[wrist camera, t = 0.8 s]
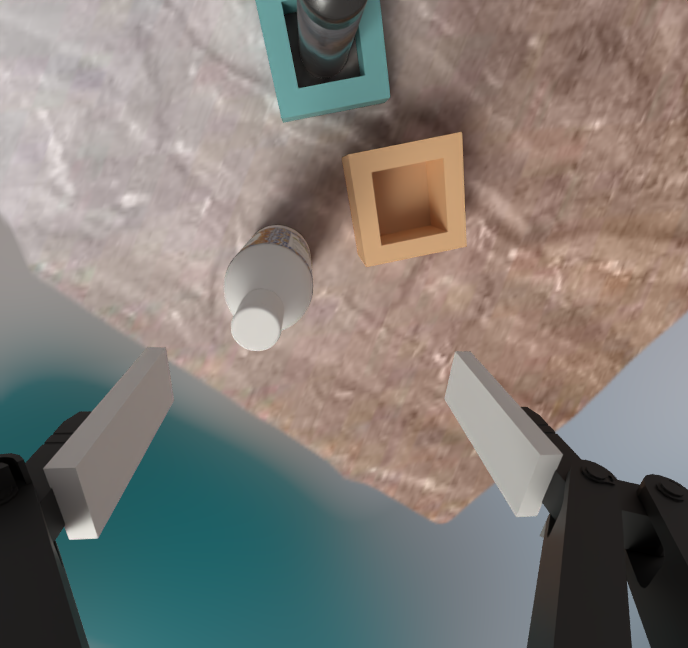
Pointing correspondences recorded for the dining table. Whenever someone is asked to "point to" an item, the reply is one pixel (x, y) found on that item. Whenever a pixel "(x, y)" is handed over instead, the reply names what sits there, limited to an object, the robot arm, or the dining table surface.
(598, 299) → the dining table surface
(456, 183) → the socket
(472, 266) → the dining table surface
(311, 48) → the pin
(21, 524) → the robot arm
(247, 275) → the bath foam
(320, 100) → the mount
